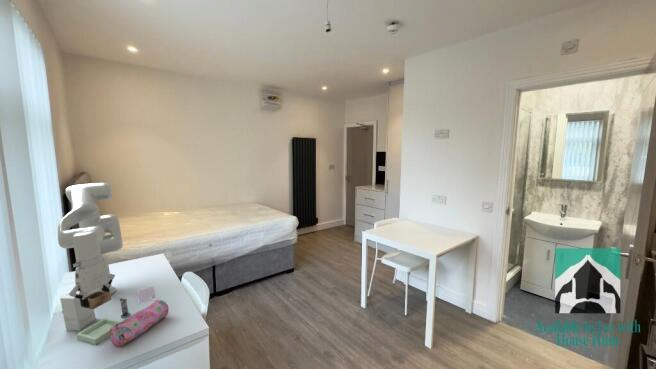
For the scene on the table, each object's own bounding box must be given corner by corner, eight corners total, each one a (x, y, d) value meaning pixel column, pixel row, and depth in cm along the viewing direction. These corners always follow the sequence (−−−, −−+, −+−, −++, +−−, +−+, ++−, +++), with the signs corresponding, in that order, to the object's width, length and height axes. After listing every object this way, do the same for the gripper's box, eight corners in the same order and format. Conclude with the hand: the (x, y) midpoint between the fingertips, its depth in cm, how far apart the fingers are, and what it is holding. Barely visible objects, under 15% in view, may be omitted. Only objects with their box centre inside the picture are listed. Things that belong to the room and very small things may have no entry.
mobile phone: (153, 285, 149) (156, 297, 137) (153, 287, 149) (156, 299, 138) (137, 290, 145) (138, 303, 133) (137, 292, 145) (138, 304, 133)
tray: (77, 339, 109) (76, 334, 108) (106, 322, 119) (105, 317, 119) (95, 345, 106) (94, 339, 105) (124, 327, 116) (123, 321, 116)
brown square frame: (92, 309, 106) (91, 301, 105) (81, 306, 108) (79, 298, 108) (111, 299, 113) (110, 292, 112) (100, 297, 115) (98, 289, 114)
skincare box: (83, 318, 123) (77, 287, 120) (97, 318, 122) (91, 287, 120) (65, 331, 114) (58, 297, 112) (79, 331, 114) (73, 297, 112)
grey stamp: (118, 317, 123) (116, 300, 121) (126, 312, 126) (124, 296, 125) (124, 318, 122) (121, 301, 120) (132, 314, 125) (129, 297, 124)
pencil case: (122, 351, 102) (119, 330, 101) (107, 345, 105) (103, 325, 104) (171, 317, 122) (169, 299, 121) (157, 313, 125) (155, 295, 124)
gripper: (69, 272, 98) (77, 316, 101) (118, 253, 115) (124, 291, 117) (56, 269, 101) (64, 312, 103) (106, 252, 117) (112, 289, 120)
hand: (96, 301), depth 110 cm, fingers closed on brown square frame, 7 cm apart
